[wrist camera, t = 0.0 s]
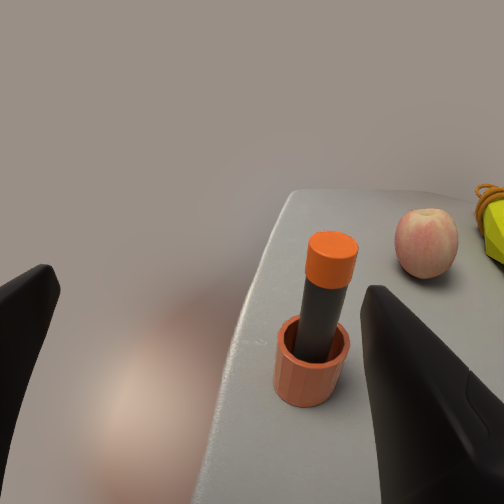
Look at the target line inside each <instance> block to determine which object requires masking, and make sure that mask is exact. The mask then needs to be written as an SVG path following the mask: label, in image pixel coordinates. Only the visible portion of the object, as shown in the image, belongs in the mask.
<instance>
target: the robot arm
mask: <svg viewBox="0 0 504 504" xmlns="http://www.w3.org/2000/svg"><path fill="white" fill-rule="evenodd" d="M59 295H60V285H59V282H58V280H57V277H56V275H55V272H54V270H53V268H52V266H50V265H46V264H40V265H37V266H36V267H34V268H32V269H30V270H28V271H27V272H25V273H23V274H21V275H20V276H18V277H16V278H14V279H13V280H11V281H9V282H7V283H6V284H4V285H3V286H1V287H0V496H1V490H2V484H3V479H4V473H5V468H6V463H7V458H8V454H9V449H10V444H11V440H12V436H13V433H14V429H15V425H16V421H17V418H18V414H19V411H20V408H21V404H22V401H23V398H24V395H25V392H26V389H27V386H28V383H29V380H30V377H31V374H32V371H33V368H34V366H35V363H36V360H37V358H38V355H39V352H40V350H41V347H42V345H43V342H44V339H45V337H46V334H47V331H48V328H49V325H50V322H51V319H52V316H53V313H54V310H55V307H56V304H57V301H58V298H59ZM360 319H361V331H362V344H363V359H364V369H365V376H366V382H367V388H368V394H369V400H370V406H371V413H372V420H373V427H374V435H375V443H376V451H377V460H378V469H379V479H380V491H381V503H382V504H504V403H503V402H502V401H501V400H500V399H499V398H498V397H497V396H496V395H494V394H493V393H492V392H491V391H490V390H489V389H488V387H487V386H486V385H485V384H484V383H483V382H482V381H481V380H480V379H479V378H478V377H477V376H476V375H475V374H474V373H473V372H472V371H471V370H470V371H469V368H468V367H467V366H466V365H465V364H464V363H463V362H462V361H461V360H460V359H459V358H458V357H457V356H456V355H455V354H454V352H453V351H452V350H451V349H450V348H449V347H448V346H447V345H446V344H445V343H444V342H443V341H442V340H441V339H440V338H439V337H438V336H437V335H436V334H434V333H433V332H432V331H431V330H430V329H429V328H428V327H427V326H426V325H425V324H424V323H423V322H422V321H421V320H420V319H419V318H418V317H417V316H416V315H415V314H414V313H413V312H412V311H411V310H410V309H409V308H408V307H406V306H405V305H404V304H403V303H402V302H401V301H400V300H399V299H398V298H397V297H396V296H395V295H394V294H393V293H391V292H390V291H389V290H388V289H387V288H386V287H385V286H382V285H370V286H369V287H368V288H367V291H366V294H365V297H364V301H363V304H362V307H361V312H360Z"/></svg>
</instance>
